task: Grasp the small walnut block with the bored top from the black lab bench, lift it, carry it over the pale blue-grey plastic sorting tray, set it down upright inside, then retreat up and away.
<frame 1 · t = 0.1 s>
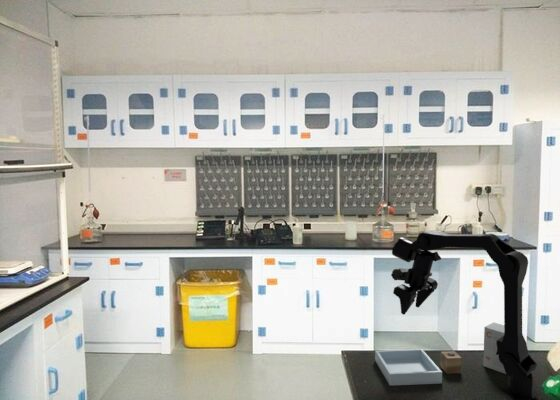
hand: (410, 310, 147), 15 cm above the lab bench, tool pointing down, fingers open, 9 cm apart
walnut block: (450, 370, 138), on the lab bench
small box: (500, 368, 139), on the lab bench
sorting tray: (406, 371, 137), on the lab bench
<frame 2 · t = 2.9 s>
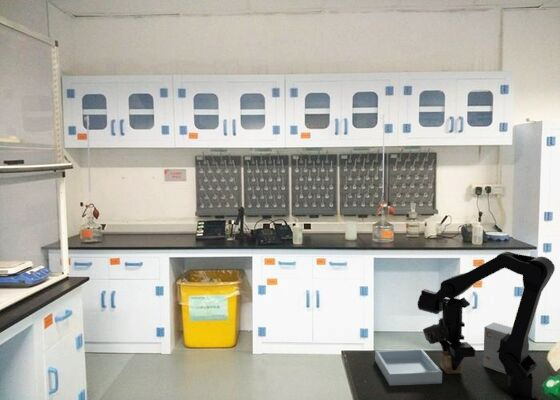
hand: (450, 366, 138), 1 cm above the lab bench, tool pointing down, fingers closed on walnut block, 4 cm apart
walnut block: (450, 369, 138), on the lab bench, touching gripper
everything else where it was.
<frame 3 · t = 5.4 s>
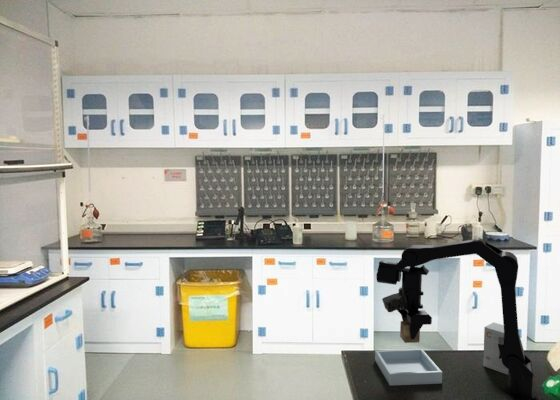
hand: (409, 335, 136), 11 cm above the lab bench, tool pointing down, fingers closed on walnut block, 4 cm apart
walnut block: (409, 339, 136), point 10 cm above the lab bench, touching gripper
everything else where it was.
when the fingers open (3 cm above the lab bench, at t = 7.7 s): walnut block drops 1 cm, resting on sorting tray.
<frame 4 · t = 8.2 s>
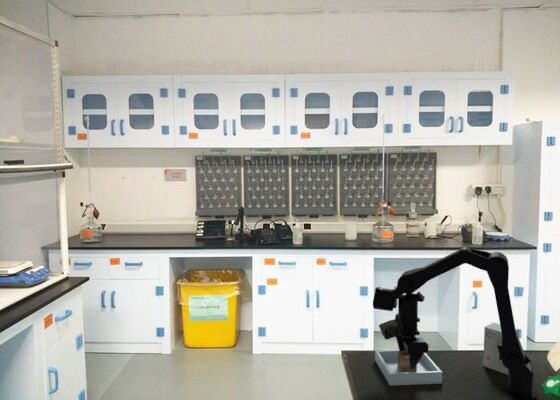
hand: (407, 361, 137), 3 cm above the lab bench, tool pointing down, fingers open, 9 cm apart
walnut block: (406, 369, 137), point 1 cm above the lab bench, touching sorting tray
everything else where it was.
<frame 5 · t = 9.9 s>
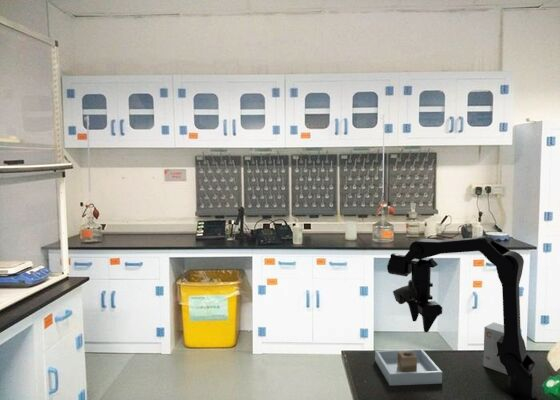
hand: (420, 326, 141), 12 cm above the lab bench, tool pointing down, fingers open, 9 cm apart
nothing on the lab bench moved.
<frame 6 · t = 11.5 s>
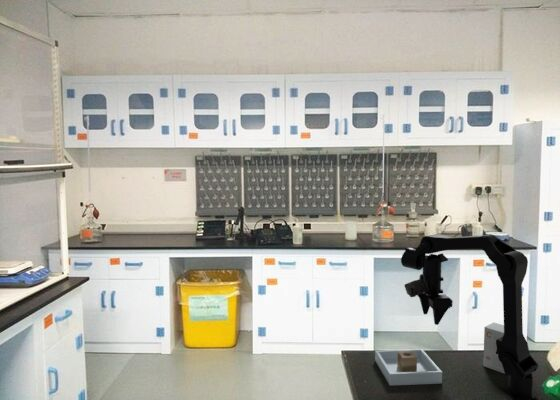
hand: (430, 319, 145), 13 cm above the lab bench, tool pointing down, fingers open, 9 cm apart
nothing on the lab bench moved.
at the end: walnut block inside the target area on the sorting tray (0.0 cm from its centre), point 0.6 cm above the sorting tray's base; walnut block tilted 0°; the gripper is holding nothing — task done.
